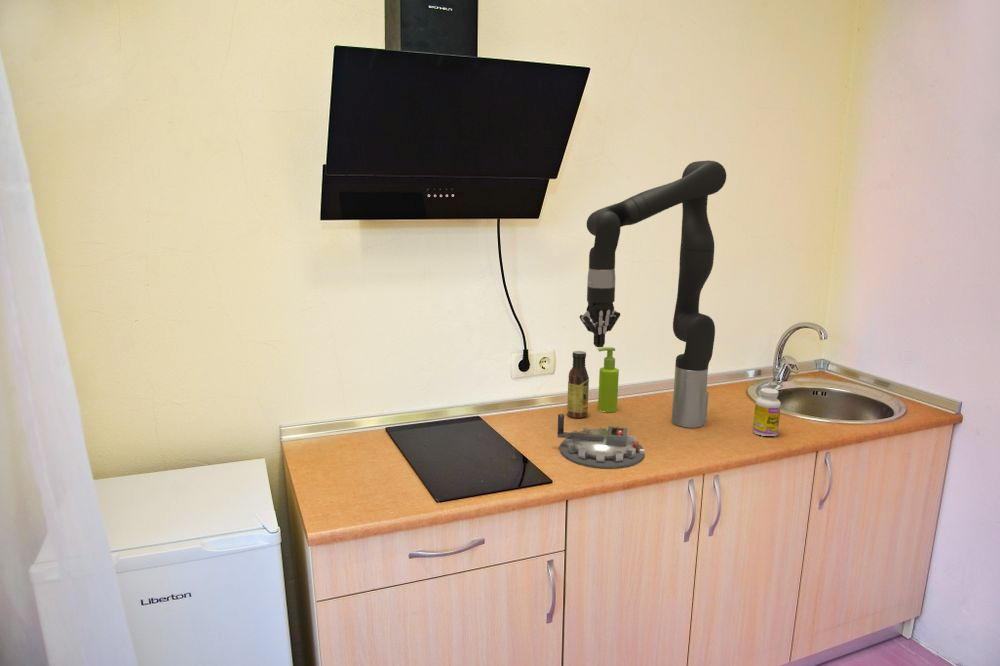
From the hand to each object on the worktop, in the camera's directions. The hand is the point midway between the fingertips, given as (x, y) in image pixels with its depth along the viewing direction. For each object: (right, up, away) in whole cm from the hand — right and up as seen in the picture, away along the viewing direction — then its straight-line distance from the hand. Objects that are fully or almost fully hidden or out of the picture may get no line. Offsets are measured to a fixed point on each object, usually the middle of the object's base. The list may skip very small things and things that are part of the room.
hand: (599, 346), depth 180 cm
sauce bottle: (-4, -22, +18) cm, 28 cm away
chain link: (+3, -24, -11) cm, 27 cm away
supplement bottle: (+48, -25, +4) cm, 54 cm away
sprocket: (-2, -26, -10) cm, 28 cm away
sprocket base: (-1, -27, -10) cm, 29 cm away
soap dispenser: (+6, -20, +23) cm, 31 cm away
